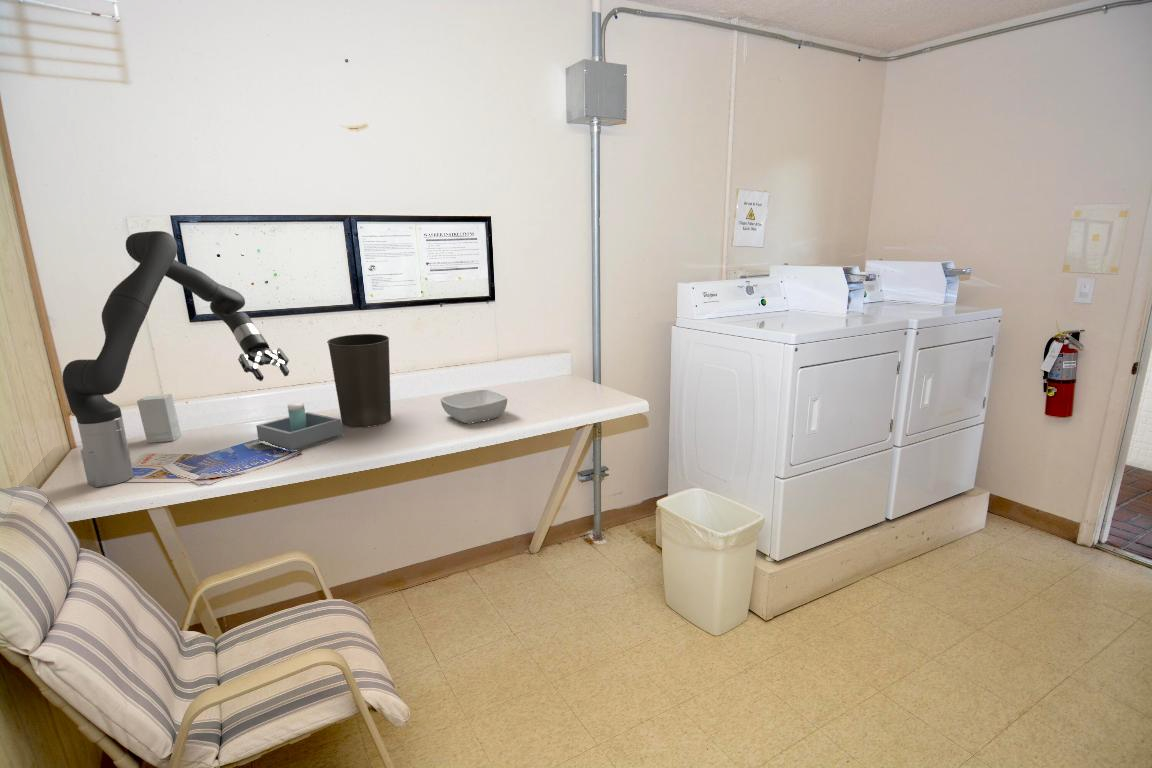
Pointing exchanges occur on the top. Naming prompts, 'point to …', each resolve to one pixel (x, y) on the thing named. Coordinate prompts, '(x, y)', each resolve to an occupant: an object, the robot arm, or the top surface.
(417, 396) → the top surface
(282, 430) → the slate bin
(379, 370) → the waste basket
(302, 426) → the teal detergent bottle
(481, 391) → the square bowl
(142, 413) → the skincare box
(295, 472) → the top surface
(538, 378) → the top surface
